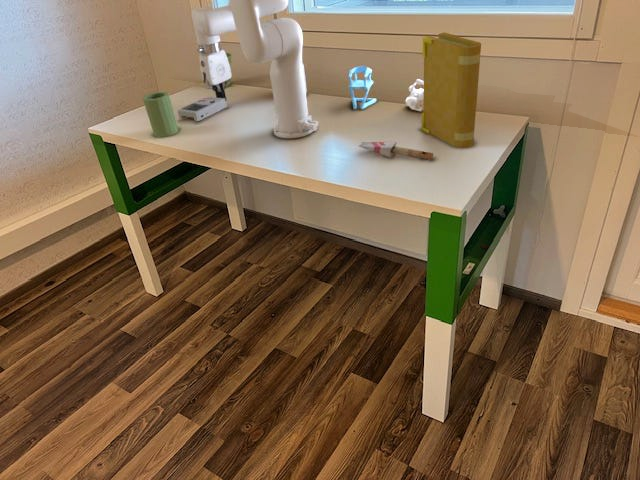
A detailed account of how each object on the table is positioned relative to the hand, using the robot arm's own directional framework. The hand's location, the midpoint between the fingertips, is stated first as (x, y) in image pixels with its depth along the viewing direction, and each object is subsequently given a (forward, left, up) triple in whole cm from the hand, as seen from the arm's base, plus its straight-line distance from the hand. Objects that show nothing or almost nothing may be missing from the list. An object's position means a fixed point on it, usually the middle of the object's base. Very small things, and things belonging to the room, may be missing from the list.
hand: (222, 101), depth 175 cm
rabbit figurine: (-68, -20, -2) cm, 71 cm away
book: (-84, -4, -2) cm, 84 cm away
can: (-20, -18, -2) cm, 27 cm away
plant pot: (+18, -18, -2) cm, 25 cm away
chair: (-48, -17, -2) cm, 51 cm away
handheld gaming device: (0, +9, -2) cm, 9 cm away
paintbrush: (-76, +12, -2) cm, 77 cm away
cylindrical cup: (0, +26, -1) cm, 26 cm away
